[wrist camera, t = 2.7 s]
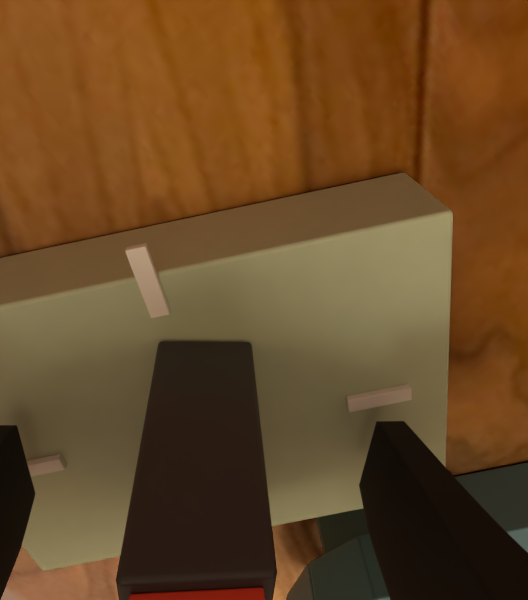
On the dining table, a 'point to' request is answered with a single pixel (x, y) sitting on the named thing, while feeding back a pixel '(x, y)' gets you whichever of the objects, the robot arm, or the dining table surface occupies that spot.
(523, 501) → the switch box
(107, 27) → the dining table surface
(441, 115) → the dining table surface
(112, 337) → the dimmer panel
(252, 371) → the dimmer knob
